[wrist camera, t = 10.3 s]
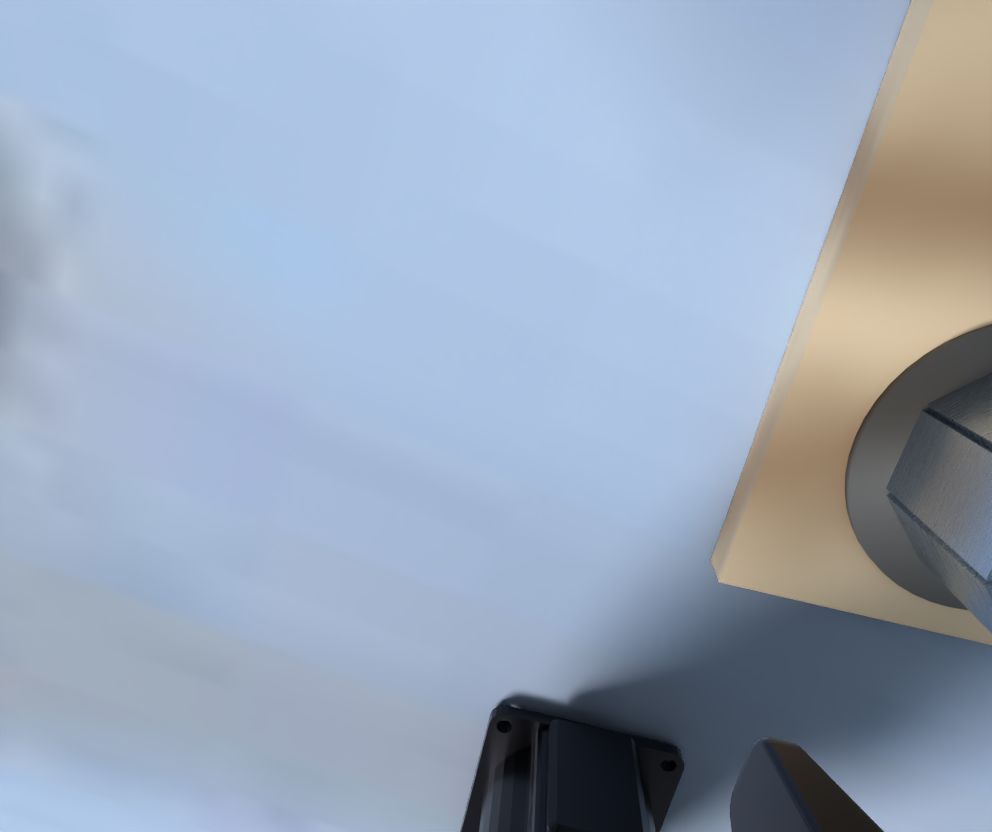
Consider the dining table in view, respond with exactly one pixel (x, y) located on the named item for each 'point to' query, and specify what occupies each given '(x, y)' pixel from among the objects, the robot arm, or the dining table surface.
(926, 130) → the board
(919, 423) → the cap
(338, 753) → the dining table surface
